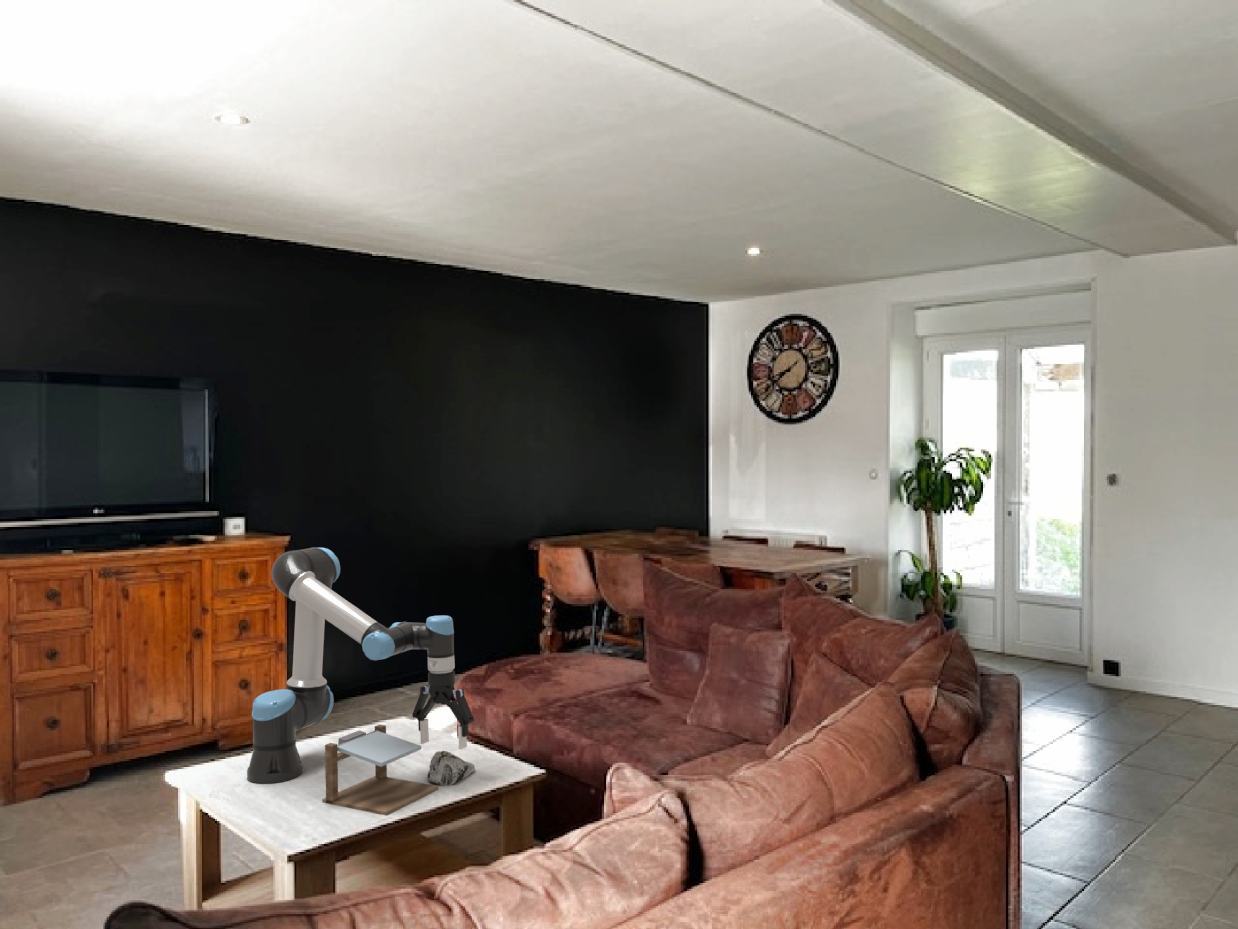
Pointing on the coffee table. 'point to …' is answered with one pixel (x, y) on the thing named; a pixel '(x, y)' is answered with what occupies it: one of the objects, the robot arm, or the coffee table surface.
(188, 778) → the coffee table surface
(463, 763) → the rock
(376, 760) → the trapdoor
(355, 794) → the frame
